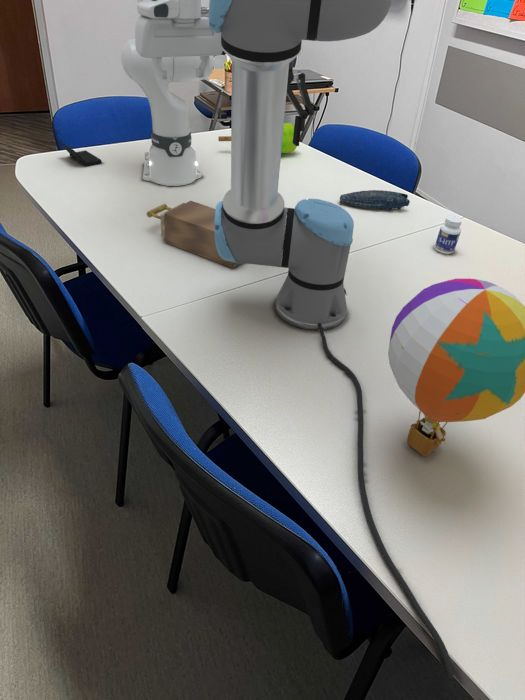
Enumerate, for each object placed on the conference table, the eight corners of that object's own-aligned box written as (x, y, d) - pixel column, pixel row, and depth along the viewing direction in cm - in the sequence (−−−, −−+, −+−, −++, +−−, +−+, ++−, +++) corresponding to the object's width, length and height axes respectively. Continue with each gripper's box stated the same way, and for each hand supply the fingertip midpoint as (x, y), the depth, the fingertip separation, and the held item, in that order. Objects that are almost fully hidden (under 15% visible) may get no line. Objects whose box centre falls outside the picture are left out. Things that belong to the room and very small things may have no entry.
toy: (336, 437, 84) (375, 278, 66) (409, 388, 95) (460, 239, 76) (438, 521, 73) (519, 358, 55) (507, 455, 84) (595, 300, 65)
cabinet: (165, 242, 132) (164, 213, 127) (191, 228, 139) (190, 200, 134) (233, 268, 124) (234, 238, 119) (256, 252, 132) (258, 223, 127)
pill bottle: (433, 251, 139) (442, 220, 133) (435, 243, 143) (444, 213, 137) (453, 256, 138) (464, 225, 132) (454, 247, 142) (465, 217, 136)
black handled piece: (106, 156, 172) (85, 134, 163) (94, 173, 170) (73, 152, 162) (85, 152, 178) (64, 130, 170) (74, 169, 177) (52, 148, 168)
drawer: (143, 229, 135) (142, 207, 131) (167, 218, 141) (166, 196, 137) (224, 260, 125) (225, 237, 121) (245, 246, 132) (247, 224, 128)
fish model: (408, 214, 157) (412, 198, 153) (339, 207, 158) (341, 191, 154) (406, 206, 162) (410, 190, 159) (339, 199, 163) (341, 183, 160)
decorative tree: (215, 116, 189) (295, 116, 194) (215, 146, 195) (293, 145, 201) (221, 131, 175) (307, 130, 181) (221, 162, 182) (304, 160, 187)
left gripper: (215, 5, 118) (214, 73, 126) (129, 4, 108) (134, 77, 117) (229, 9, 114) (227, 79, 122) (141, 8, 104) (146, 83, 113)
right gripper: (322, 46, 123) (311, 139, 136) (220, 42, 116) (218, 141, 129) (335, 52, 117) (322, 148, 130) (228, 48, 110) (225, 150, 123)
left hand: (181, 78), depth 119 cm, fingers open, 8 cm apart
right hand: (270, 145), depth 129 cm, fingers open, 13 cm apart
